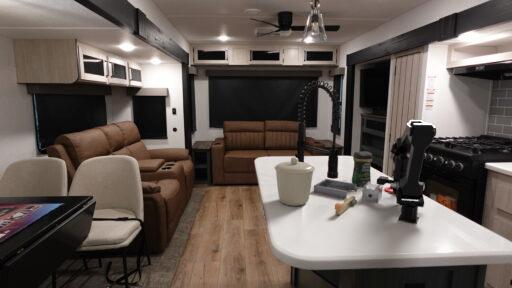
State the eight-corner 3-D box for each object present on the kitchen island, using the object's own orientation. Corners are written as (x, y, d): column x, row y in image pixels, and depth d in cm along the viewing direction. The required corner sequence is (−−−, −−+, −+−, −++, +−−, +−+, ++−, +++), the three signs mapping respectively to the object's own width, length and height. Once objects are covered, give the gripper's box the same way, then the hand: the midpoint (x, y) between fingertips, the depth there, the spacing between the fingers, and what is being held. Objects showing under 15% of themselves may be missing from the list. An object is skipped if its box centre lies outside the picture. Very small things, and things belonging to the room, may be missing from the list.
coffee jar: (357, 187, 153) (359, 153, 151) (349, 182, 161) (351, 150, 158) (373, 186, 155) (375, 152, 152) (364, 181, 163) (366, 150, 160)
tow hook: (382, 188, 152) (387, 193, 143) (383, 165, 150) (389, 168, 141) (399, 189, 151) (405, 194, 142) (400, 165, 149) (407, 169, 140)
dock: (353, 206, 126) (354, 198, 126) (307, 196, 140) (307, 189, 139) (368, 192, 144) (368, 186, 144) (325, 184, 158) (325, 178, 157)
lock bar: (340, 215, 116) (340, 205, 115) (334, 214, 117) (334, 204, 116) (355, 201, 132) (356, 192, 131) (350, 200, 133) (351, 191, 132)
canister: (314, 197, 138) (316, 154, 135) (311, 211, 121) (313, 163, 117) (278, 194, 143) (278, 152, 139) (270, 207, 126) (270, 160, 122)
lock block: (377, 203, 130) (378, 188, 129) (361, 200, 134) (362, 186, 133) (381, 197, 138) (382, 183, 137) (366, 194, 142) (367, 181, 141)
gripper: (427, 167, 127) (424, 200, 130) (383, 162, 138) (381, 192, 141) (424, 172, 119) (421, 208, 121) (377, 166, 130) (375, 199, 132)
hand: (398, 201), depth 129 cm, fingers closed
